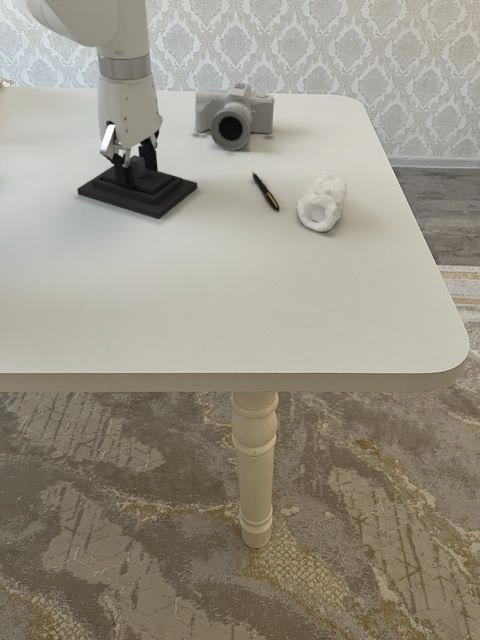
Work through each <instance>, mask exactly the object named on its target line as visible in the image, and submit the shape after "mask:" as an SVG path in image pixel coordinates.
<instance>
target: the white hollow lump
mask: <svg viewBox="0 0 480 640" xmlns="http://www.w3.org/2000/svg"><path fill="white" fill-rule="evenodd" d="M347 186H348V185H347V183H346V180H345V179H344V178H342V176H339V177H335V178H334V177H333V176H332V175H331V174H328V173H324V174H320V175H319V176H317V177H316V178H315V180H314V181H313V183H312V184H311V185H310V186H309V187H308V189H307V191H306V192H305V194H304V195H303V197H301V198H299V200H297V201H296V208H295V209H296V211H297V214H298V215H297V216H298V219H299V220H300V222H301V223H302V225H304V226H305V227H306V228H307V229H310V230H312V231H315V232H327V231H330V230H331V229H332V228H333V227H334V226H335V224H336V223H337V222H338V221H339V220H340V218H341V215H342V213H341V212H342V205H343V203H344V201H345V198H346V196H347V194H348V187H347Z"/></svg>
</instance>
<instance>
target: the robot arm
mask: <svg viewBox="0 0 480 640" xmlns="http://www.w3.org/2000/svg"><path fill="white" fill-rule="evenodd" d="M24 1H25V5H26V7H27V9H28V12H29V13H30V15H31V16H32V17H33V18H34V20H35V21H36V22H37V23H39V24H40V25H41V26H43V27H44V28H45V29H48V30H49V31H52V32H54V33H56V34H58V35H60V36H63V37H64V38H67V39H69V40H70V41H72V42H74V43H76V44H78V45H80V46H83V47H86V48H96V55H97V63H98V69H99V78H98V79H97V86H96V87H97V89H96V90H97V92H96V106H97V119H98V130H99V138H100V141H101V145H100V149H99V154H100V155H102V156H103V157H104V158H106V160H107V161H109V162H110V164H111V165H113V166H114V169H115V176H116V183H117V185H118V186H120V187H124V188H127V189H130V190H132V189H134V187H135V186H134V176H133V168H132V166H131V165H129V162H130V158H131V153H132V152H131V151H132V148H133V147H135V146H137V145H139V144H140V145H139V146H138V148H137V149H138V150H137V151H138V156H139V157H143V158H144V160H145V168H147V169H150V170H154V171H157V172H158V171H159V167H158V157H157V155H158V154H157V150H156V149H158V146H159V142H158V139H159V135H160V129H161V126H162V123H163V121H164V119H163V116H161V114H160V112H159V104H158V103H159V102H158V95H157V90H156V85H155V80H154V75H153V72H152V60H151V51H150V50H151V49H150V48H151V47H150V40H149V37H150V36H149V27H148V26H149V25H148V15H147V13H148V12H147V0H24ZM121 150H122V156H121V154H120V151H121Z"/></svg>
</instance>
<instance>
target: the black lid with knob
mask: <svg viewBox="0 0 480 640" xmlns="http://www.w3.org/2000/svg"><path fill="white" fill-rule="evenodd" d="M129 165H131V166H132V168H133V176H134V186H135V187H134V189H132V190H135V191H139V192H142V193H146V194H149V195H152V196H154V195H155V194H156V193H158V192H159V191H160V190H162V189H163V188H164V187H166V186H167V185H168V184H170V183H171V182H172V181H173V176H174V175H173V174H170V175H168V174H169V173H166V172H163V173H161V172H162V171H159V172H157V171H154V170H150V169H147V168H145V160H144V158H143V157H139V155H135V154H134V155H132V156H130V162H129ZM165 173H166V174H165ZM172 175H173V176H172ZM102 177H103V181H105V182H108V183H112V184H115V185H117V183H116V176H115V169H112V170H111V171H109V172H108V173H106V174H105V175H103V176H102Z"/></svg>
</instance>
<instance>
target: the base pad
mask: <svg viewBox="0 0 480 640" xmlns="http://www.w3.org/2000/svg"><path fill="white" fill-rule="evenodd" d="M112 169H114V165H113V166H110V167H109V168H108V169H106V170H104V171H103V172H101V173H100V174H98V175H97V176H94V178H92V179H90V180H88V181H87V182H85V183H84V184H83V185H80V186H79V187H78V188H77V194H78V195H80V196H83V197H86V198H90V199H92V200H96V201H99V202H103V203H106V204H109V205H112V206H115V207H118V208H122V209H126V210H129V211H131V212H135V213H138V214H141V215H145V216H148V217H151V218H155V219H158V220H160V219H161V218H162V217H163V216H165V215H166V214H167V213H168V212H169V211H171V210H172V209H173V208H174V207H176V206H177V205H178V204H180V202H182V201H183V200H185V199H186V198H187V197H188V196H190V195H191V194H192V193H194V191H195V190H197V189H198V182H197V181H196V182H195V181H192V180H189V179H186V178H183V177H180V176H176V175H173V174H169V173H166V172H162V171H159V170H158V172H161V173H165V174H168V175H172V176H173V181H172V182H171V183H170V184H168V185H167V186H166V187H164V188H163V189H162V190H160V191H159V192H158V193H156V194H155V195H154V196H152V195H149V194H146V193H142V192H139V191H135V190H130V189H127V188H124V187H120V186H118V185H115V184H112V183H108V182H105V181H103V177H102V176H103V175H105V174H106V173H108V172H109V171H111V170H112Z"/></svg>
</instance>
